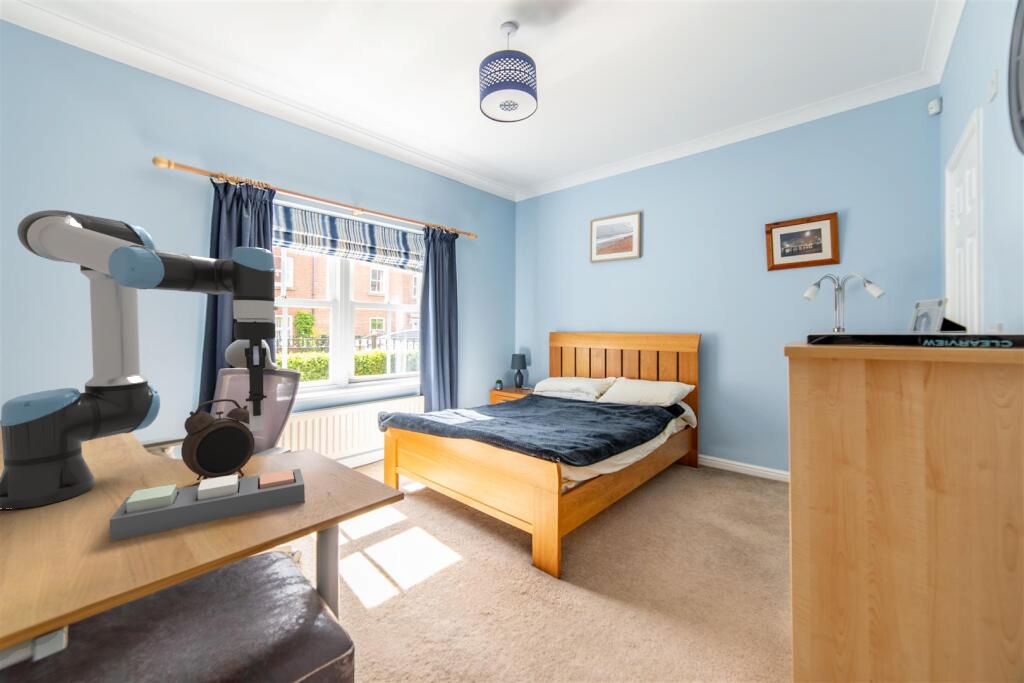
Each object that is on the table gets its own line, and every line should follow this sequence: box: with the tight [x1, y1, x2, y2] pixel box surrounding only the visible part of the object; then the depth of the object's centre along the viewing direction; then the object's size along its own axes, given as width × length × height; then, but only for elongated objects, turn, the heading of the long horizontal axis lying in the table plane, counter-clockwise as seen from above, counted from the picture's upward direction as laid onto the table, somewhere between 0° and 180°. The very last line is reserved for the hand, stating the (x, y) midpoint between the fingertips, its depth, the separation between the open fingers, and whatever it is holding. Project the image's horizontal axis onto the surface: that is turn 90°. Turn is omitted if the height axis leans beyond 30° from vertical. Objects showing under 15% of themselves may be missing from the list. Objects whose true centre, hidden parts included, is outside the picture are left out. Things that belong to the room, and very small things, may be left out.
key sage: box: [126, 483, 178, 513], centre depth 80 cm, size 6×6×3 cm
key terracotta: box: [260, 469, 294, 489], centre depth 91 cm, size 6×6×3 cm
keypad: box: [109, 468, 306, 543], centre depth 86 cm, size 11×31×4 cm, turn 122°
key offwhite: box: [198, 473, 239, 500], centre depth 86 cm, size 6×6×3 cm
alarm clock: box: [180, 398, 256, 481], centre depth 102 cm, size 15×7×20 cm, turn 143°
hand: (257, 429), depth 89 cm, fingers closed
